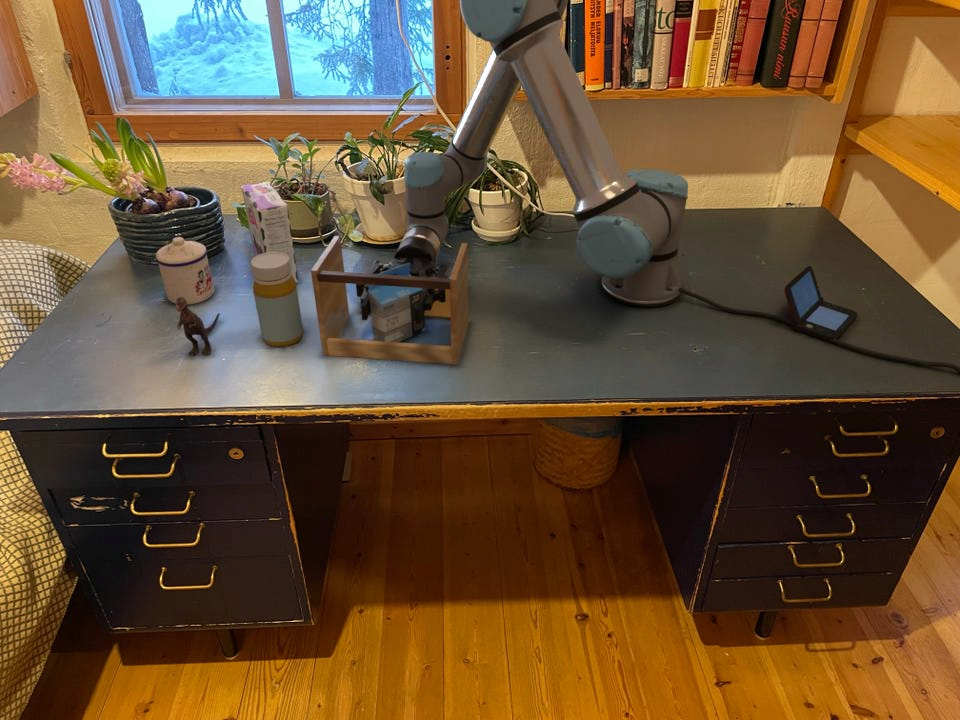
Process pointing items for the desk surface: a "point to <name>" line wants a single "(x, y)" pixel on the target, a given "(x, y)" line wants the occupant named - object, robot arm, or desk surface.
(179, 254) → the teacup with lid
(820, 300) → the handheld console
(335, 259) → the frame
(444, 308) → the felt pad
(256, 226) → the candy box
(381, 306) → the label tape box
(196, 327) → the dinosaur model
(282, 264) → the bottle
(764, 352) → the desk surface
